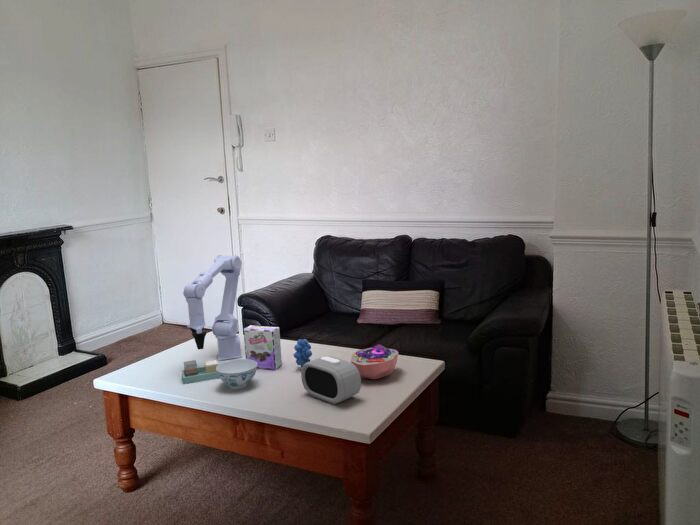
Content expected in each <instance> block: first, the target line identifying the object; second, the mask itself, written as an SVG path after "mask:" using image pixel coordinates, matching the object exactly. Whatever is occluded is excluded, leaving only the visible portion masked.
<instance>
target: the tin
mask: <svg viewBox="0 0 700 525" xmlns="http://www.w3.org/2000/svg"><path fill="white" fill-rule="evenodd" d="M198 368H199V367H198V363H197V360H196V359H194V360H188V361H183V370H184V372H185V377H188V376H194V375H198Z"/></svg>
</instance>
